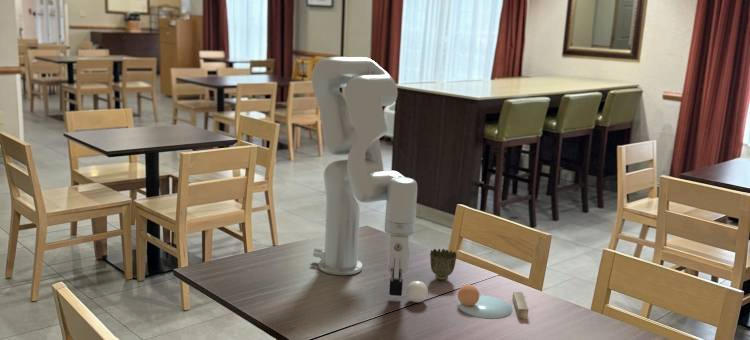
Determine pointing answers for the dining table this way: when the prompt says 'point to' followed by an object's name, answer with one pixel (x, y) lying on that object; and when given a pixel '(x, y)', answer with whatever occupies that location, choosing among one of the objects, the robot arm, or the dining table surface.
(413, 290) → the ivory ball
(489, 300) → the light blue plate
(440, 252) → the cup
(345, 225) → the robot arm
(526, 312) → the tan bar
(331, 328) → the dining table surface
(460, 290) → the terracotta ball
